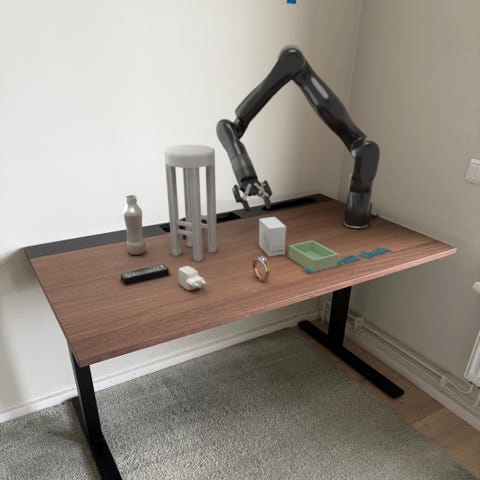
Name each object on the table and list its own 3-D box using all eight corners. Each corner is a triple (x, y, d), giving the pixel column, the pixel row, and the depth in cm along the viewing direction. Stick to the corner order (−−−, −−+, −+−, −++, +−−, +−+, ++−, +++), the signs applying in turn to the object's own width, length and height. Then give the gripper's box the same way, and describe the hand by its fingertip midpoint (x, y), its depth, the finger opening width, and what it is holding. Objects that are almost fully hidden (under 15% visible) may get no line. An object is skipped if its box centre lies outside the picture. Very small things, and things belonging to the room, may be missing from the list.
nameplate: (392, 252, 169) (382, 247, 172) (392, 250, 168) (382, 245, 172) (310, 275, 152) (301, 269, 156) (311, 273, 152) (301, 267, 156)
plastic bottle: (150, 251, 168) (144, 195, 158) (139, 258, 163) (132, 200, 153) (135, 248, 170) (128, 192, 160) (123, 255, 165) (116, 198, 155)
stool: (189, 241, 176) (184, 142, 158) (224, 249, 170) (223, 147, 152) (163, 255, 165) (154, 150, 147) (200, 264, 158) (196, 156, 140)
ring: (270, 283, 147) (271, 259, 143) (262, 285, 145) (262, 261, 141) (258, 275, 152) (259, 251, 148) (250, 277, 151) (250, 253, 146)
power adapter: (211, 294, 141) (210, 276, 138) (197, 299, 138) (197, 280, 135) (190, 281, 148) (189, 263, 145) (177, 285, 145) (175, 268, 142)
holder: (312, 251, 169) (313, 240, 167) (337, 266, 158) (339, 254, 156) (288, 257, 164) (288, 245, 162) (312, 272, 154) (313, 260, 152)
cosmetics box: (257, 245, 173) (258, 218, 168) (274, 243, 175) (275, 216, 169) (268, 256, 164) (269, 227, 159) (285, 254, 166) (287, 225, 161)
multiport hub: (121, 279, 148) (120, 273, 147) (164, 270, 155) (163, 263, 154) (125, 285, 145) (124, 278, 144) (169, 275, 151) (169, 268, 150)
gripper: (229, 166, 167) (245, 207, 164) (264, 162, 173) (280, 201, 170) (223, 178, 173) (238, 217, 171) (256, 173, 179) (271, 211, 177)
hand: (259, 209), depth 170 cm, fingers open, 8 cm apart
